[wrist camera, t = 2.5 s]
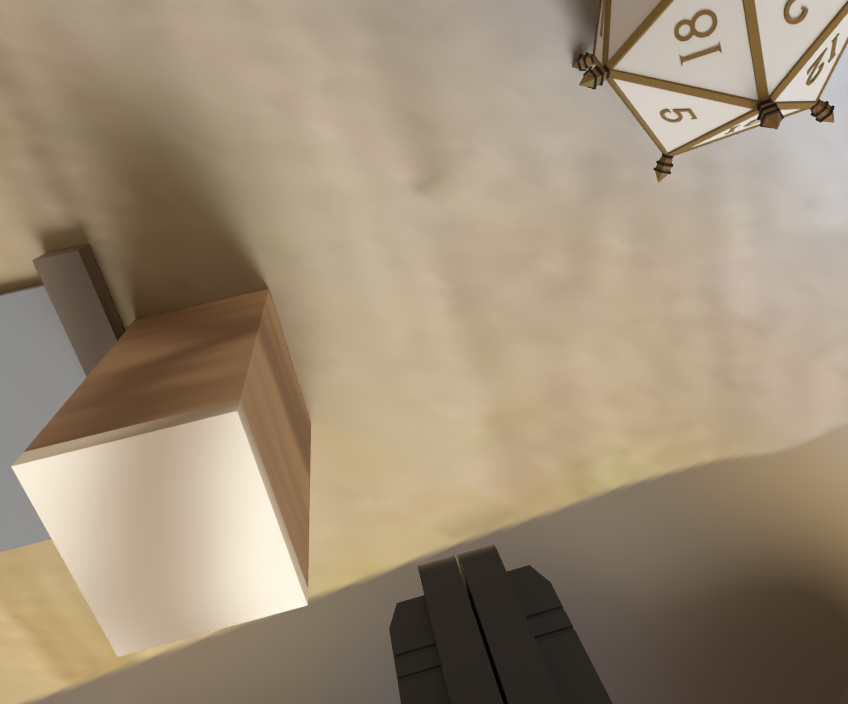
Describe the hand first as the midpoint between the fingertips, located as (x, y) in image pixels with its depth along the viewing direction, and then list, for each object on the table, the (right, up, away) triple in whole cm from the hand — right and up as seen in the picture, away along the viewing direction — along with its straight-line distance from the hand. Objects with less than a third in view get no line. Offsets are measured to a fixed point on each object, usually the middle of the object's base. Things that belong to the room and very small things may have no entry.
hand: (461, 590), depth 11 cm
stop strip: (-12, +3, +12) cm, 17 cm away
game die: (+7, +16, +10) cm, 20 cm away
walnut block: (-8, +4, +12) cm, 15 cm away
